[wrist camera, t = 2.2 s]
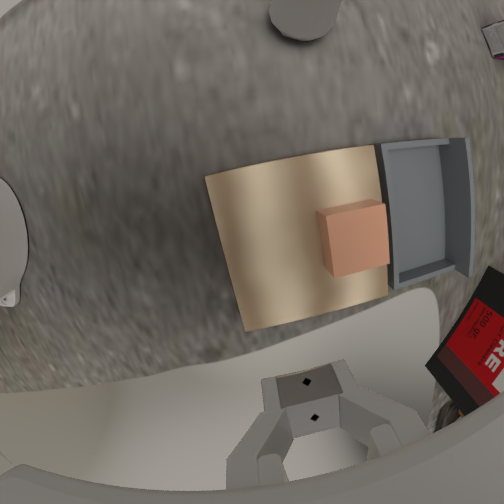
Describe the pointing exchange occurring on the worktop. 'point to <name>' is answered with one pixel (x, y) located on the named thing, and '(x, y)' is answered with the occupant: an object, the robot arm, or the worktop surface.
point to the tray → (427, 207)
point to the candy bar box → (495, 38)
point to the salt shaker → (304, 17)
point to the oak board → (291, 233)
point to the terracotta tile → (354, 237)
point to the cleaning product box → (474, 348)
